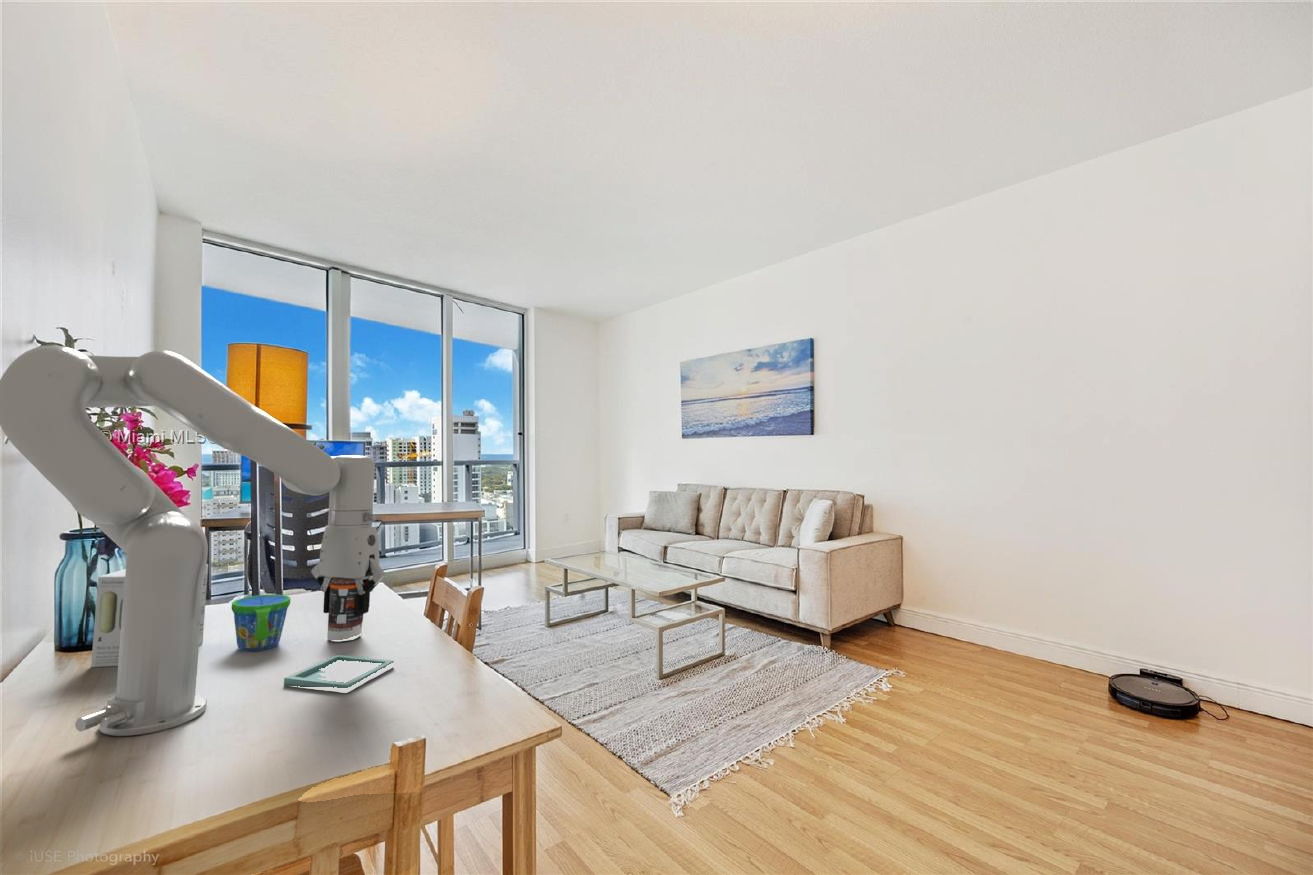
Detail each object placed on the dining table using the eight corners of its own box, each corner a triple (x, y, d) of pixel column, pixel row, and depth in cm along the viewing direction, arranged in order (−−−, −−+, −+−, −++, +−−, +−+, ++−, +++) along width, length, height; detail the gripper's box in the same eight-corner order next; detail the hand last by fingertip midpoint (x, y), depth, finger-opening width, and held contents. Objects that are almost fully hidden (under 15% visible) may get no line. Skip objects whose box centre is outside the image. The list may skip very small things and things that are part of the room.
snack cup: (286, 654, 118) (289, 605, 119) (223, 661, 113) (227, 610, 113) (289, 633, 132) (291, 590, 132) (233, 639, 126) (236, 594, 127)
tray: (346, 694, 99) (346, 685, 100) (283, 686, 102) (284, 678, 102) (393, 668, 112) (393, 660, 112) (336, 662, 115) (337, 654, 115)
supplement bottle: (347, 631, 104) (350, 569, 105) (320, 628, 105) (323, 567, 106) (370, 622, 110) (372, 564, 111) (343, 619, 111) (346, 562, 112)
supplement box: (87, 668, 107) (95, 576, 108) (131, 646, 120) (137, 564, 121) (170, 664, 111) (176, 575, 112) (204, 643, 124) (210, 563, 124)
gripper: (402, 519, 111) (398, 611, 110) (326, 515, 114) (322, 604, 113) (377, 522, 103) (372, 621, 103) (296, 518, 106) (291, 614, 106)
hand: (346, 611), depth 108 cm, fingers closed on supplement bottle, 6 cm apart
